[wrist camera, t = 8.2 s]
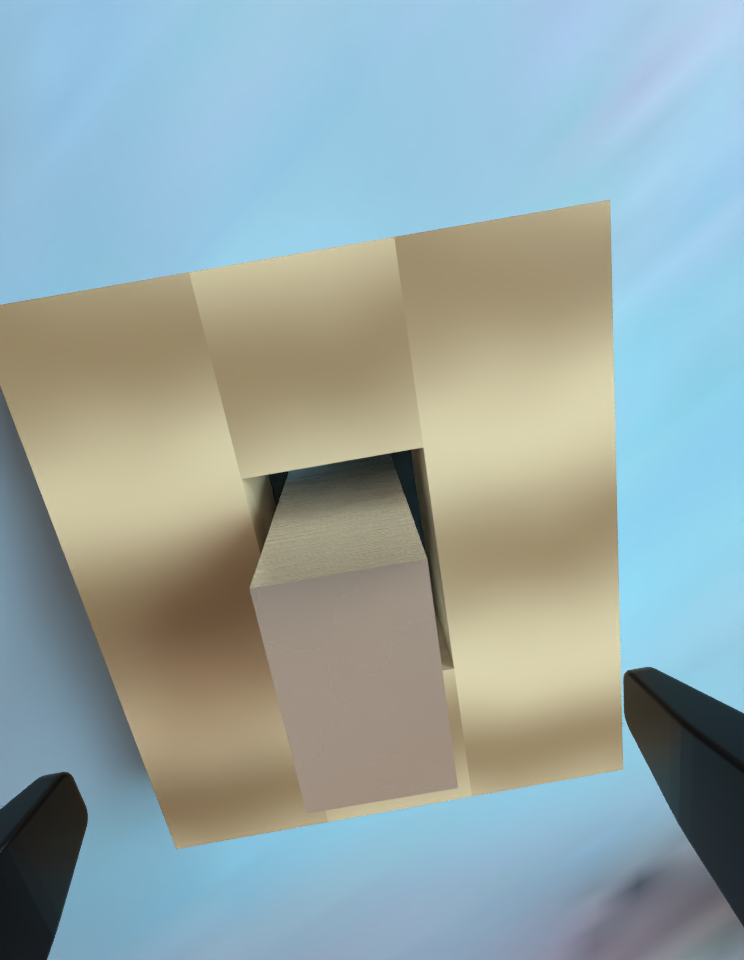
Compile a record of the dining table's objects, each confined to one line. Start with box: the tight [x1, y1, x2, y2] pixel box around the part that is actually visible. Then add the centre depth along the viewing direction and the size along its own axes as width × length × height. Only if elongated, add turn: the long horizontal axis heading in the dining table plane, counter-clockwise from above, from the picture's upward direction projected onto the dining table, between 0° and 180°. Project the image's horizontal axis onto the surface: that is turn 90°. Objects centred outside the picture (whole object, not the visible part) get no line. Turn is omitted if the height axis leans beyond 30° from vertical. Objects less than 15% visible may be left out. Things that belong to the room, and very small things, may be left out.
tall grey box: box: [249, 453, 458, 813], centre depth 13 cm, size 5×3×8 cm, turn 9°
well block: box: [0, 200, 623, 849], centre depth 15 cm, size 16×14×4 cm
